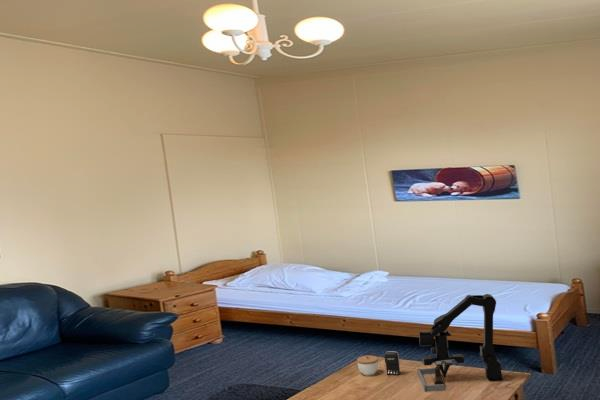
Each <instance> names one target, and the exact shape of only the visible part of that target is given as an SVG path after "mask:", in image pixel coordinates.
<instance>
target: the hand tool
mask: <svg viewBox="0 0 600 400" xmlns="http://www.w3.org/2000/svg"><path fill="white" fill-rule="evenodd" d="M434 368H435V374H434V377H435V381H434V385H437V384H444V385H445V382H444V380H443V376H442V372H441V370H440V368H439V366H435V367H434Z"/></svg>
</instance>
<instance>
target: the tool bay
mask: <svg viewBox="0 0 600 400" xmlns="http://www.w3.org/2000/svg"><path fill="white" fill-rule="evenodd" d="M430 374H431V375H432V374H433V375H435V367H429V368H428V367H427V368H417V375H418V379H419V381H420V383H421V385H422V387H423V389H424V392H436V391H437V392H439V391H446V388H445V383H444V384H437V385H435V384H429V385H428V384H427V383H426V381H425V379H424V377H423V376H424V375H430Z"/></svg>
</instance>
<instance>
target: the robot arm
mask: <svg viewBox="0 0 600 400" xmlns="http://www.w3.org/2000/svg"><path fill="white" fill-rule="evenodd" d="M496 305H497V300H496V298H495V297H494V296H493V295H492V294H490V293H486V294H483V295H482V294H481V295H480V294H476V295H475V294H474V295H473V294H472V295H471V294H467V295H466V296H465V297H464V298H463V299H462V300H461V301H460V302H458V303H457V304H456V305H455V306H454V307H452V308H451V309H449V310H448V312H446V313H445V314H441V315H440V316H438V317H436V318H435V319H434V320H433V324H432V327H431V328H430V329H429V330H430V331H423V330H422V331H419V332H418V334H419V335H418V336H419V337H418V338H419V341H418V342H419V347H430V346H431V347H430V353H431V355H435V357H432V356H431V355H425V356H422V357H421V358H422V365H424V366H432V365H433V363H434V364H435V367H437V366H438V367H439V368H440V371H441V375H442V378H445V379H446V377H447V375H448V370H449V368H450V367H451V366H453V364H452V362H454V361H455V362H456V363H457V364H463V363H465V358H464V355H462V354H461V353H454V354H453V355H452V356H450V355H449V354H450V353H449V342H448V341H449V340H448V337H451V336H452V334H451V332H450V331H448V328H449V327H450V326H451V323H452V322H453V321H455V319H456V318H458V317H459V316H460V315H461V314H463V313H464V312H465V311H466V310H467V309H468V308H469V307H471V306H477V307H478V306H479V307H482V311H483V317H484V318H483V344H482V345H479V350H480V351H479V357H480V358H481V359H482V361H483V363H484V364H486V365H485V368H484V372H485V378H486V379H487V380H488V381H489V382H496V381H504V378H503V376H502V375H503V374H502V373H503V372H502V363H501V362H500V360H499V359H498V357H497V356H496V353H495V349H494V348H495V347H494V313H495V312H496V308H497V307H496ZM434 344H435V346H433V345H434Z"/></svg>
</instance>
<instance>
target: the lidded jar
mask: <svg viewBox="0 0 600 400" xmlns="http://www.w3.org/2000/svg"><path fill="white" fill-rule="evenodd" d="M356 361H357V367H358V371H360V373H361V374H362V375H363V376H366V377H367V376H368V377H369V376H374V375H375V373H376V372H378V368H379V357H377V356H375V355H368V354H367V355H361V356H360V357H357V359H356Z"/></svg>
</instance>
